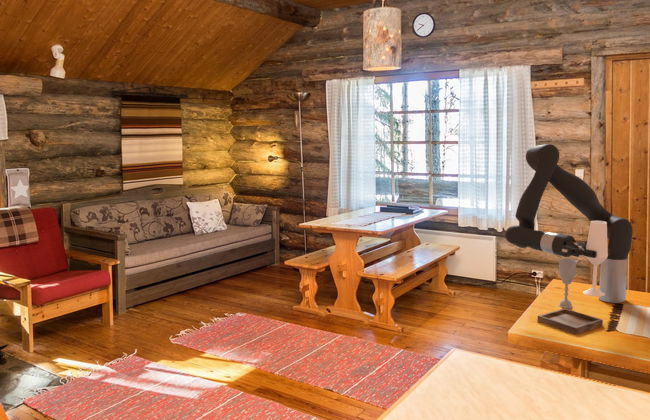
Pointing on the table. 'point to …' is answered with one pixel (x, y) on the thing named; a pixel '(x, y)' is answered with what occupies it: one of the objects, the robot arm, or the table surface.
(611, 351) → the table surface
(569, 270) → the chalice
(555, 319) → the tray
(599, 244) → the champagne flute
